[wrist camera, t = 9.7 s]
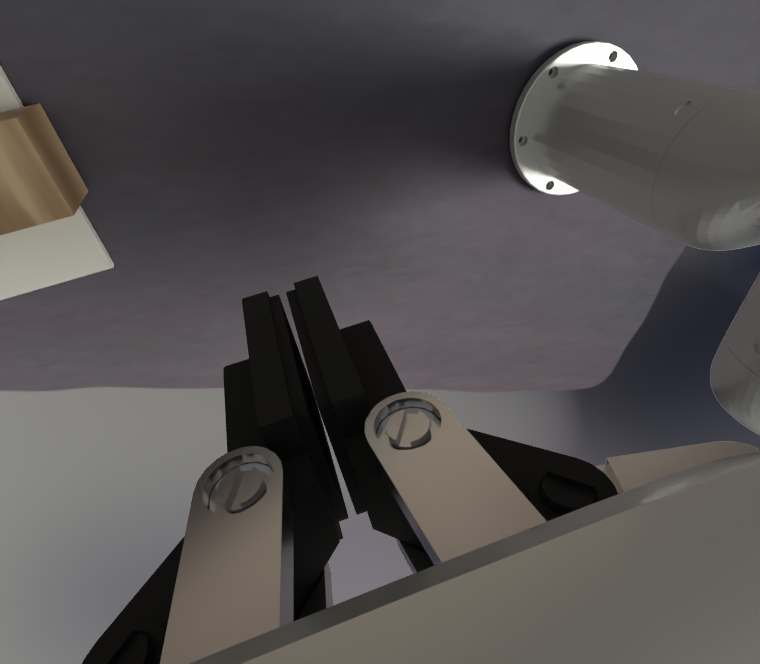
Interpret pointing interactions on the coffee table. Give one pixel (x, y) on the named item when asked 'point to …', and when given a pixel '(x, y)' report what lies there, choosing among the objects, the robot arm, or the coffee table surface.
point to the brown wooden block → (35, 172)
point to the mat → (47, 241)
